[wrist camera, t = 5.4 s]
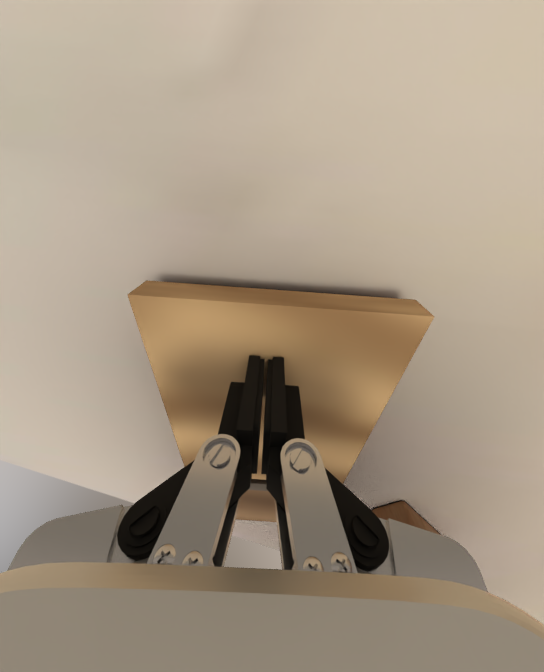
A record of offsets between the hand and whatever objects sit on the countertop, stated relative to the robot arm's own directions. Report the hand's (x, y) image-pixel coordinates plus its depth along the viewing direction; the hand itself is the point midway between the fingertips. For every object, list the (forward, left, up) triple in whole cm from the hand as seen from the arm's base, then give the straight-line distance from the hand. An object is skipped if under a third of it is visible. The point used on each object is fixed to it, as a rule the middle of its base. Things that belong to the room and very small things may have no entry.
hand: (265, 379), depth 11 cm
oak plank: (-3, 0, -2) cm, 4 cm away
